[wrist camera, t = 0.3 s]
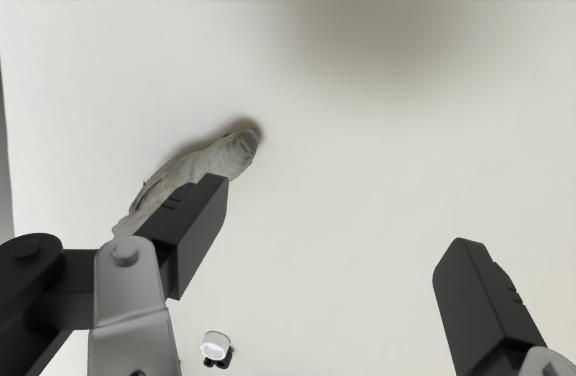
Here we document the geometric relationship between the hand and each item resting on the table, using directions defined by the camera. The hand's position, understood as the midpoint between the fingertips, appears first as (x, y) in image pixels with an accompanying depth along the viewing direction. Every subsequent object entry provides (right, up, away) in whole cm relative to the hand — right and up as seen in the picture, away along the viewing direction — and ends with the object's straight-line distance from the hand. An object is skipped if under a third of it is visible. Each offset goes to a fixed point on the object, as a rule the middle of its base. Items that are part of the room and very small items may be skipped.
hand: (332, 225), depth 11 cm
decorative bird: (-11, +4, +22) cm, 24 cm away
